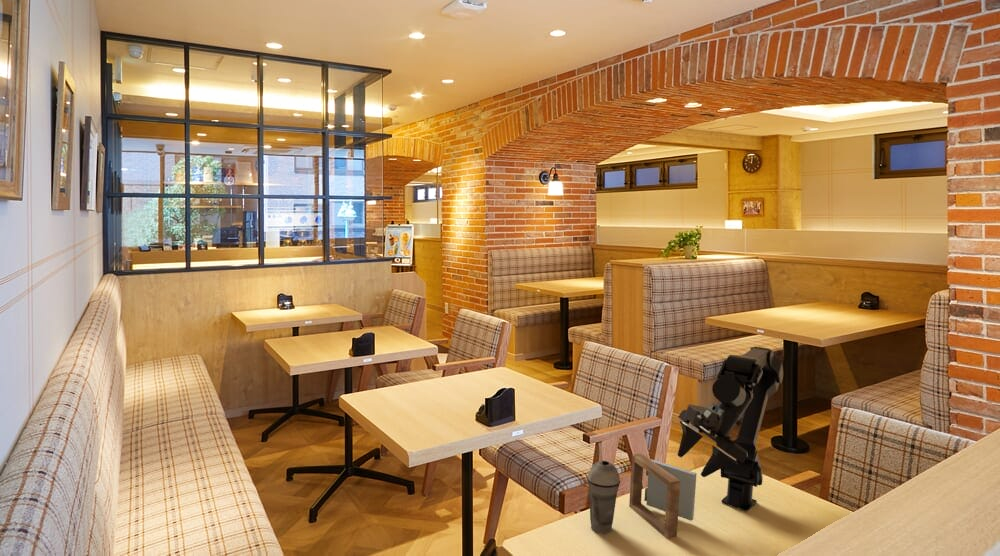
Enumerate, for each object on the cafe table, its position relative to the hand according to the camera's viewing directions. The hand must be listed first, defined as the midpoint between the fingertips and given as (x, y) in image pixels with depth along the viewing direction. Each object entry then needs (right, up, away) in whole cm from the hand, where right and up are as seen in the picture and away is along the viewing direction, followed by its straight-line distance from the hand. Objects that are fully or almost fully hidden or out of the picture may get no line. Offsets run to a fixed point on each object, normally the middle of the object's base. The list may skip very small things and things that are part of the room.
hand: (690, 466), depth 137 cm
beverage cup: (-20, -14, -1) cm, 25 cm away
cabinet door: (-4, -12, +5) cm, 13 cm away
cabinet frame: (-8, -13, +2) cm, 16 cm away
